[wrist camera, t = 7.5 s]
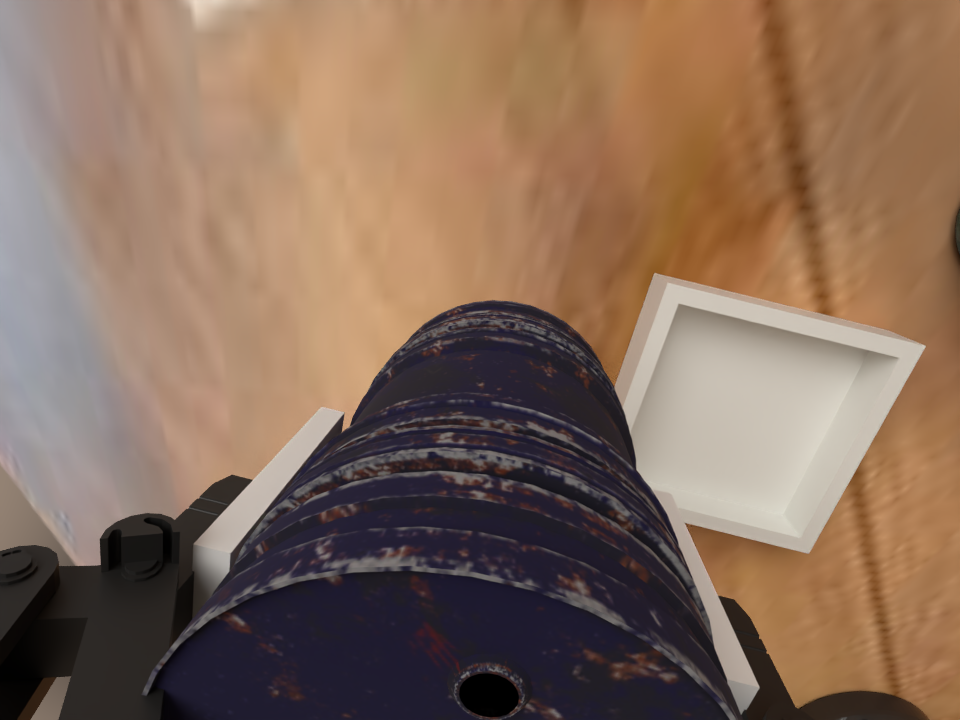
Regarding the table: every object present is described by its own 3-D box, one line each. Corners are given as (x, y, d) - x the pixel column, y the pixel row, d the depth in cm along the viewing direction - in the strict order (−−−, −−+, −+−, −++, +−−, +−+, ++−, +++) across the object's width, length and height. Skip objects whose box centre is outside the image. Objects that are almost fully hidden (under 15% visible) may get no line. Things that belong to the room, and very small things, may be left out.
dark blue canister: (568, 535, 24) (626, 1057, 9) (363, 474, 23) (115, 909, 9) (651, 336, 20) (932, 691, 6) (412, 265, 20) (140, 457, 6)
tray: (785, 522, 45) (808, 553, 41) (584, 472, 45) (589, 499, 41) (887, 329, 38) (925, 346, 35) (654, 272, 39) (667, 282, 35)
